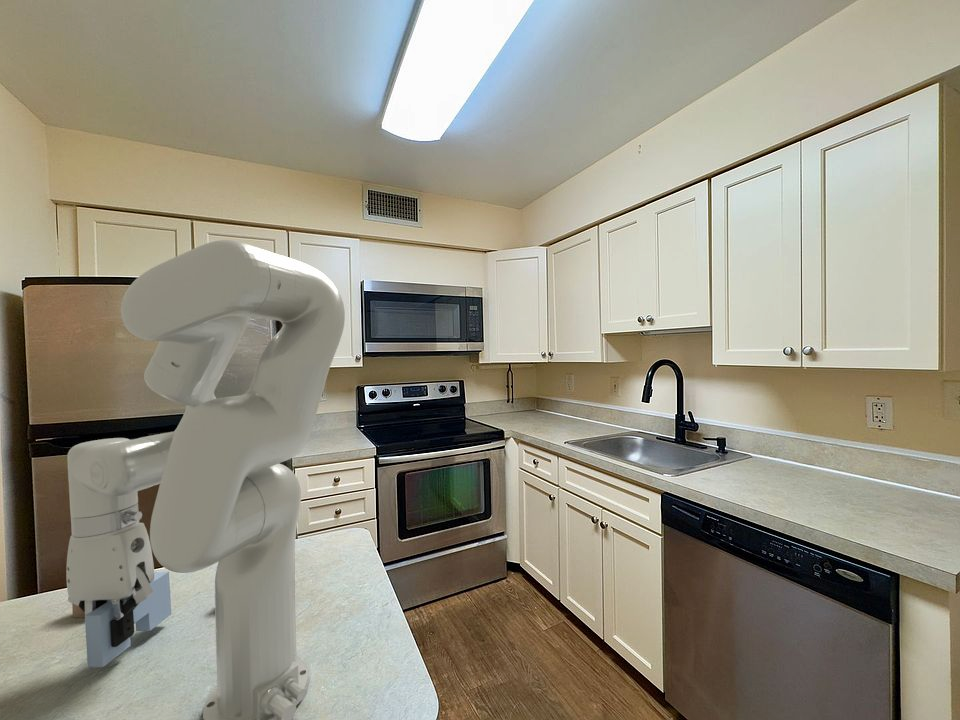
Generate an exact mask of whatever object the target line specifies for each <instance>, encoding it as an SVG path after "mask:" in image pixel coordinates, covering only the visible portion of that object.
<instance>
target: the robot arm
mask: <svg viewBox="0 0 960 720" xmlns="http://www.w3.org/2000/svg"><path fill="white" fill-rule="evenodd" d="M345 314H346V311H345V306H344V301H343V297H342V295H341V294H340V291H339V290H338V288H337V287H336V285H335V284H334V282H333V281H332V280H331V279H330V278H329V277H327V276H326V274H324V273H323V272H322V271H320V270H319V269H317V268H316V267H313V266H311V265H310V264H307V263H304V262H302V261H300V260H298V259H295V258H291V257H288V256H286V255H283V254H280V253H279V254H278V253H276V252H272V251H269V250H266V249H263V248H261V247H258V246H254V245H252V244H248V243H246V242H242V241H236V240H227V239H226V240H225V239H222V240H214V241H210V242H207V243H204V244H201V245H199V246H197V247H194V248H192V249H190V250H188V251H186V252H184V253H180V254H179V255H176V256H174V257H173V258H170V259H168V260H166V261H164V262H161V263H159V264H156V265H155V266H154V267H151V268H150V269H147V270H146V271H145V272H143V273H141V275H139V276H138V277H136V278H135V279H134V281H133V282H132V283H131V284H130V285H129V286H128V288H127V290H125V293H124V296H123V298H122V300H121V305H120V315H121V319H122V322H123V325H124V327H125V328H126V329H127V332H129V333H131V334H132V335H133V336H135V337H137V338H139V339H142V340H145V341H150V342H158V345H157V346H156V348H155V350H154V353H153V354H152V356H151V359H150V361H149V362H148V364H147V366H146V369H145V370H144V374H143V376H144V377H143V378H144V379H143V380H144V382H145V383H146V386H147V387H148V388H149V389H150V390H151V391H152V392H154V393H156V394H157V395H159V396H161V397H163V398H165V399H167V400H170V401H172V402H175V403H177V404H181V405H185V411H184V413H183V416H182V417H181V418H180V421H179V423H178V424H177V427H176V428H175V430H174V431H170V432H163V433H160V434H159V433H158V434H157V433H156V434H153V435H148V436H142V437H138V438H134V439H129V438H126V437H113V438H110V437H109V438H102V439H97V440H96V439H95V440H90V441H85V442H80V443H78V444H75V445H74V446H72V447H71V448H70V449H69V450H68V452H67V476H68V479H67V480H68V494H69V510H70V513H69V514H70V523H71V525H70V526H71V535H70V538H69V542H68V549H67V556H66V567H65V568H66V571H65V573H66V577H65V579H66V589H67V594H68V597H67V601H68V603H71V604H72V603H73V604H75V605H77V606H79V607H80V608H81V609H82V610H83V611H84V612H85V615H87V614H89V613H90V612H92V611H94V610H95V609H97V608H98V607H100V606H102V605H103V604H105V603H107V602H108V601H110V600H112V609H113V617H114V619H113V620H112V621H110V632H111V646H112V647H117V646H119V645H120V644H121V643H123V642H124V641H125V640H127V639H128V638H129V637H130V638H131V637H132V636H133V635H134V633H135V623H134V616H133V610H134V609H136V608H137V605H138V604H139V603H140V602H142V601H144V600H145V599H147V598H148V597H150V596H151V595H153V590H152V588H151V586H150V583H151V582H153V580H154V573H155V566H154V565H155V564H154V558H155V559H156V561H157V562H158V563H159V564H160V565H161V566H162V567H163V568H165V569H166V570H168V571H169V572H170V571H171V572H173V573H179V574H188V573H189V574H190V573H194V572H195V573H196V572H198V571H202V570H204V569H206V568H208V567H211V566H212V565H215V564H216V563H217V565H216V570H215V578H214V614H215V615H214V616H215V651H216V652H215V654H216V655H215V659H216V685H215V686H214V688H212V691H211V692H210V693H209V694H208V696H207V698H206V700H205V702H204V705H203V709H202V719H203V720H292V719H293V718H294V717H295V715H296V712H297V705H299V703H300V702H302V701H304V700H305V697H306V696H307V693H308V688H309V683H310V669H309V667H308V664H307V662H306V661H305V660H304V659H303V658H301V657H299V656H297V653H298V652H297V622H296V621H297V619H296V618H297V615H296V613H297V611H296V610H297V609H296V578H295V577H296V557H295V556H296V539H297V537H296V535H297V527H298V522H299V517H300V512H301V511H300V510H301V505H302V504H301V502H302V500H301V499H302V491H301V485H300V482H299V480H298V477H297V476H296V474H295V473H294V472H293V470H292V469H290V467H287V466H286V465H284V464H283V463H284V462H286V461H288V460H291V459H293V458H294V457H296V456H297V455H299V454H300V453H301V452H302V451H303V450H304V448H305V447H306V446H307V444H308V441H309V438H310V435H311V433H312V429H313V426H314V423H315V420H316V416H317V413H318V409H319V406H320V403H321V399H322V396H323V393H324V389H325V386H326V383H327V377H328V375H329V371H330V368H331V365H332V363H333V361H334V358H335V354H336V353H337V350H338V348H339V346H340V342H341V339H342V336H343V333H344V327H345V319H346V315H345ZM250 319H259V320H260V319H261V320H270V321H277V322H278V321H279V322H280V323H281V325H282V326H281V328H280V330H279V331H278V332H276V334H275V335H274V336H273V337H272V338H271V339H270V341H269V342H268V343H267V345H265V347H264V349H263V350H262V352H261V353H260V356H259V358H258V361H257V365H256V369H255V373H254V376H253V378H252V381H251V383H250V386H249V388H248V390H247V391H246V392H245V393H243V394H240V395H233V396H225V397H224V396H223V397H219V398H217V397H216V395H215V390H216V389H217V386H218V384H219V382H220V380H221V378H222V376H223V375H224V372H225V370H226V368H227V366H228V365H229V363H230V360H231V358H232V357H233V355H234V353H235V351H236V349H237V347H238V346H239V345H238V344H239V343H240V341H241V339H242V336H243V335H244V334H245V332H246V331H245V330H247V327H248V325H249V322H250ZM157 485H159V487H158V490H157V494H156V497H155V501H154V505H153V509H152V514H151V517H150V527H149V533H148V530H147V528H146V526H145V523H144V522H140V520H142V517H143V513H142V511H139V496H138V495H139V493H138V492H139V491H143V490H145V489H149V488H151V487H153V486H157ZM153 555H154V558H153ZM124 599H126V602H125V603H124V605H123V601H122V600H124Z"/></svg>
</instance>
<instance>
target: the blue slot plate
mask: <svg viewBox="0 0 960 720" xmlns="http://www.w3.org/2000/svg"><path fill="white" fill-rule="evenodd" d="M170 584H171V583H170V571H154V580H153V582H151V583H150V586H151V588H152V590H153V595H151V596H150V597H148V598H147V599H145V600H144V601H142V602H140V603H139V604H138V605H137V608H136V609H134V610H133V616H134V624H135V631H136V632H151V631H152V630H153V629H154V628H155V627H157V626H158V625H160V624H161V623H162V622H163V621H165V620H166V619H167V618H169V617H170V616H171V615H172V602H171V601H172V600H171V599H172V598H171V585H170ZM122 601H123V605H124V603H125V602H126V599H124V600H122ZM113 619H114V617H113V609H112V600H110V601H108V602H107V603H105V604H103V605H102V606H100V607H98V608H97V609H95V610H94V611H92V612H90V613H89V614H87V615H85V617H84V625H85V628H84V629H85V639H86V640H85V642H86V645H85V646H86V660H87V664H86V665H87V668H104V667H105V666H107V665H108V664H109V663H110V662H112V661H114V659H116V658H117V657H118V656H120V655H121V654H122V653H123V652H125V651H126V650H127V649H128V648H130V647H132V646H131V637H129V638H128V639H127V640H125V641H124V642H123V643H121V644H120V645H119V646H117V647H112V646H111V632H110V621H112V620H113Z"/></svg>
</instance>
